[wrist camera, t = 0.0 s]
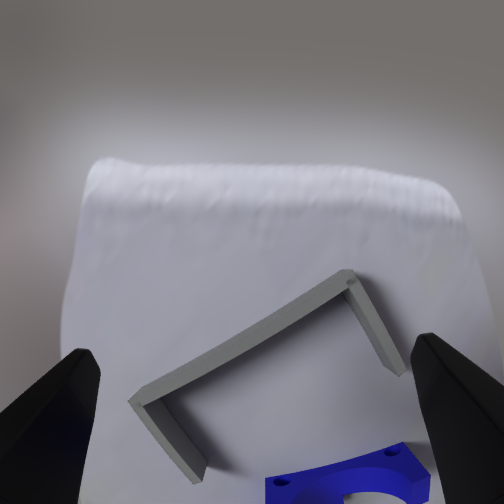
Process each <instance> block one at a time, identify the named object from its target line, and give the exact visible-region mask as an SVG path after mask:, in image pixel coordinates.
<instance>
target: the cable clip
mask: <svg viewBox="0 0 504 504" xmlns="http://www.w3.org/2000/svg"><path fill="white" fill-rule="evenodd" d="M430 479H431V475H430V474H429V473H428V472H427V470H426V469H425V468H424V467H423V466H422V464H421V463H420V462H419V461H418V459H417V458H416V457H415V456H414V455H413V453H412V452H411V451H410V450H409V449H408V447H407V446H406V445H405V444H404V443H403V442H401V443H398V444H395V445H393V446H390V447H387V448H384V449H381V450H378V451H375V452H372V453H369V454H366V455H363V456H359V457H356V458H353V459H349V460H346V461H342V462H338V463H335V464H331V465H327V466H323V467H318V468H314V469H310V470H305V471H300V472H296V473H290V474H285V475H280V476H274V477H268V478H265V504H344V501H343V495H346V494H351V493H358V492H381V493H386V494H390V495H393V496H396V497H398V498H400V499H402V500H403V501H405V502H406V503H407V504H423V503H425V502H427V501H429V491H430Z"/></svg>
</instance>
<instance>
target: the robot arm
mask: <svg viewBox="0 0 504 504" xmlns="http://www.w3.org/2000/svg"><path fill="white" fill-rule="evenodd" d="M410 360H411V366H412V370H413V375H414V380H415V384H416V389H417V394H418V399H419V404H420V408H421V412H422V415H423V418H424V422H425V425H426V428H427V432H428V435H429V439H430V442H431V446H432V449H433V453H434V457H435V461H436V464H437V468H438V472H439V476H440V480H441V485H442V489H443V493H444V498H445V503H446V504H504V386H503V385H502V384H501V383H499V382H498V381H497V380H496V379H494V378H493V377H492V376H490V375H489V374H488V373H486V372H485V371H484V370H482V369H481V368H480V367H479V366H477V365H476V364H475V363H473V362H472V361H471V360H469V359H468V358H467V357H465V356H464V355H463V354H461V353H460V352H459V351H457V350H456V349H454V348H453V347H452V346H450V345H449V344H448V343H446V342H445V341H444V340H442V339H441V338H440V337H438V336H437V335H435V334H434V333H424V334H420V335H419V336H418V337H417V339H416V342H415V345H414V348H413V350H412V353H411V358H410ZM100 376H101V372H100V368H99V366H98V364H97V362H96V360H95V358H94V356H93V354H92V353H91V351H90V350H89V349H82V348H77V349H75V350H73V351H72V352H71V353H70V354H69V355H67V356H66V357H65V358H64V359H63V360H61V361H60V362H59V363H58V364H57V365H55V366H54V367H53V368H52V369H51V370H49V371H48V372H47V373H46V374H45V375H44V376H42V377H41V378H40V379H39V380H38V381H37V382H36V383H34V384H33V385H32V386H31V387H30V388H28V389H27V390H26V391H25V392H24V393H23V394H21V395H20V396H19V397H18V398H17V399H16V400H15V401H13V402H12V403H11V404H10V405H9V406H8V407H7V408H5V409H4V410H3V411H2V412H1V413H0V504H78V497H79V491H80V486H81V480H82V475H83V469H84V464H85V459H86V454H87V450H88V445H89V441H90V436H91V432H92V427H93V423H94V417H95V411H96V403H97V396H98V389H99V383H100Z"/></svg>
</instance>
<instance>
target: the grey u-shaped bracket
mask: <svg viewBox="0 0 504 504" xmlns="http://www.w3.org/2000/svg"><path fill="white" fill-rule="evenodd" d="M341 292H342V293H343V295H344V296H345V298H346V300H347V301H348V303H349V305H350V306H351V308H352V310H353V312H354V313H355V315H356V317H357V319H358V320H359V322H360V324H361V326H362V327H363V329H364V331H365V333H366V334H367V336H368V338H369V340H370V342H371V343H372V345H373V347H374V349H375V351H376V352H377V354H378V356H379V358H380V360H381V361H382V363H383V365H384V366H385V367H386V368H388V369H389V370H390V371H391V372H393V373H394V374H395V375H397V376H398V377H399V376H400V375H402V374H403V373H405V372H406V371H407V368H406V366H405V364H404V362H403V360H402V358H401V356H400V354H399V352H398V350H397V348H396V346H395V344H394V343H393V341H392V339H391V337H390V335H389V333H388V331H387V329H386V328H385V326H384V324H383V322H382V320H381V318H380V317H379V315H378V313H377V311H376V309H375V307H374V306H373V304H372V302H371V300H370V299H369V297H368V295H367V293H366V292H365V290H364V288H363V286H362V285H361V283H360V281H359V279H358V278H357V276H356V274H355V273H354V271H353V270H340V271H339V272H337V273H336V274H334V275H333V276H331V277H329V278H328V279H326V280H325V281H323V282H322V283H320V284H319V285H317V286H316V287H314V288H312V289H311V290H309V291H308V292H306V293H305V294H303V295H301V296H300V297H298V298H297V299H295V300H294V301H292V302H290V303H289V304H287V305H285V306H284V307H282V308H281V309H279V310H277V311H276V312H274V313H273V314H271V315H269V316H268V317H266V318H264V319H263V320H261V321H259V322H258V323H256V324H254V325H253V326H251V327H249V328H248V329H246V330H244V331H243V332H241V333H239V334H237V335H236V336H234V337H232V338H231V339H229V340H227V341H225V342H224V343H222V344H220V345H218V346H217V347H215V348H213V349H211V350H210V351H208V352H206V353H204V354H203V355H201V356H199V357H197V358H195V359H194V360H192V361H190V362H188V363H186V364H185V365H183V366H181V367H179V368H177V369H176V370H174V371H172V372H170V373H168V374H166V375H164V376H163V377H161V378H159V379H157V380H155V381H153V382H151V383H149V384H147V385H145V386H144V387H142V388H141V389H140V390H139V391H138V392H136V393H135V394H134V395H133V396H132V397H131V398H130V399H129V400H128V402H129V404H130V405H131V407H132V408H133V409H134V411H135V412H136V414H137V415H138V416H139V418H140V419H141V421H142V422H143V423H144V425H145V426H146V427H147V429H148V430H149V431H150V433H151V434H152V435H153V437H154V438H155V439H156V441H157V442H158V443H159V444H160V446H161V447H162V448H163V449H164V451H165V452H166V453H167V454H168V456H169V457H170V458H171V459H172V460H173V462H174V463H175V464H176V465H177V466H178V468H179V469H180V470H181V471H182V472H183V473H184V475H185V476H186V477H187V478H188V479H189V480H190V481H191V482H192V484H193V485H194V484H197V483H200V482H202V480H203V477H204V474H205V470H206V467H207V464H208V461H207V460H206V459H205V458H204V456H203V455H202V454H201V453H200V451H199V450H198V449H197V448H196V446H195V445H194V444H193V443H192V441H191V440H190V439H189V438H188V436H187V435H186V434H185V432H184V431H183V430H182V428H181V427H180V426H179V424H178V423H177V422H176V420H175V419H174V418H173V416H172V415H171V414H170V412H169V411H168V409H167V408H166V407H165V405H164V404H163V402H162V401H161V400H160V397H162V396H164V395H166V394H168V393H170V392H172V391H174V390H176V389H178V388H180V387H182V386H183V385H185V384H187V383H189V382H191V381H193V380H195V379H197V378H199V377H200V376H202V375H204V374H206V373H208V372H210V371H212V370H213V369H215V368H217V367H219V366H221V365H222V364H224V363H226V362H228V361H230V360H231V359H233V358H235V357H237V356H238V355H240V354H242V353H244V352H245V351H247V350H249V349H251V348H252V347H254V346H256V345H258V344H259V343H261V342H263V341H264V340H266V339H268V338H269V337H271V336H273V335H274V334H276V333H278V332H279V331H281V330H283V329H284V328H286V327H288V326H289V325H291V324H292V323H294V322H296V321H297V320H299V319H300V318H302V317H304V316H305V315H307V314H308V313H310V312H312V311H313V310H315V309H316V308H318V307H319V306H321V305H322V304H324V303H326V302H327V301H329V300H330V299H332V298H333V297H335V296H336V295H338V294H339V293H341Z"/></svg>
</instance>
